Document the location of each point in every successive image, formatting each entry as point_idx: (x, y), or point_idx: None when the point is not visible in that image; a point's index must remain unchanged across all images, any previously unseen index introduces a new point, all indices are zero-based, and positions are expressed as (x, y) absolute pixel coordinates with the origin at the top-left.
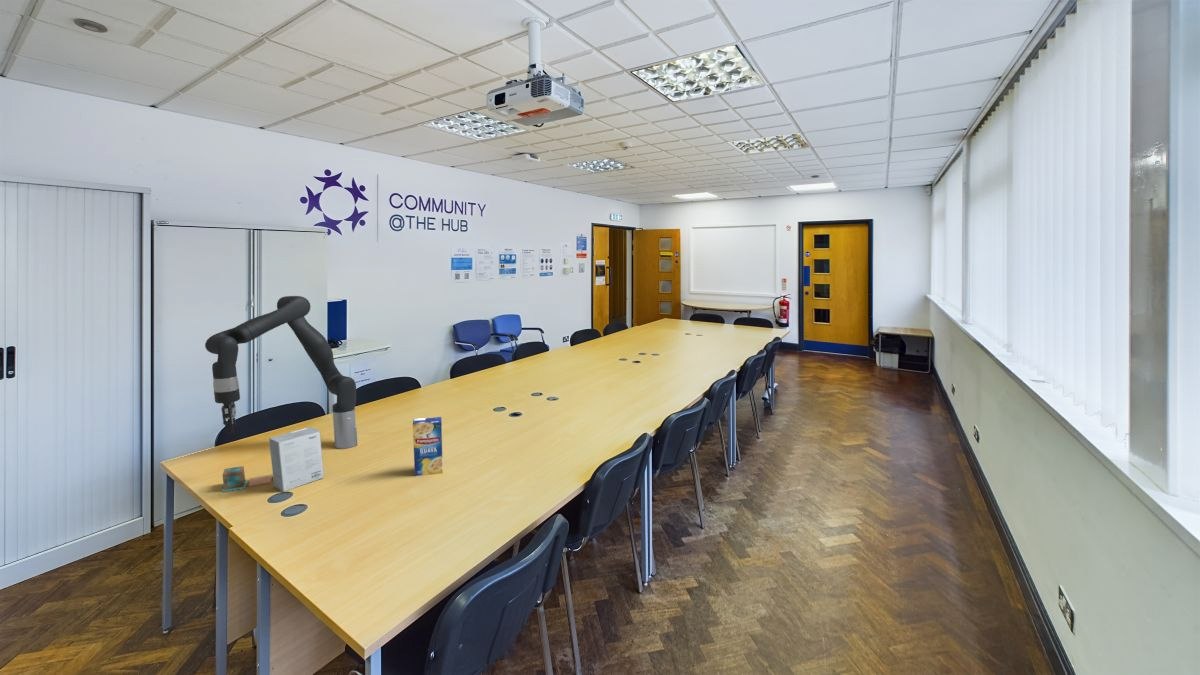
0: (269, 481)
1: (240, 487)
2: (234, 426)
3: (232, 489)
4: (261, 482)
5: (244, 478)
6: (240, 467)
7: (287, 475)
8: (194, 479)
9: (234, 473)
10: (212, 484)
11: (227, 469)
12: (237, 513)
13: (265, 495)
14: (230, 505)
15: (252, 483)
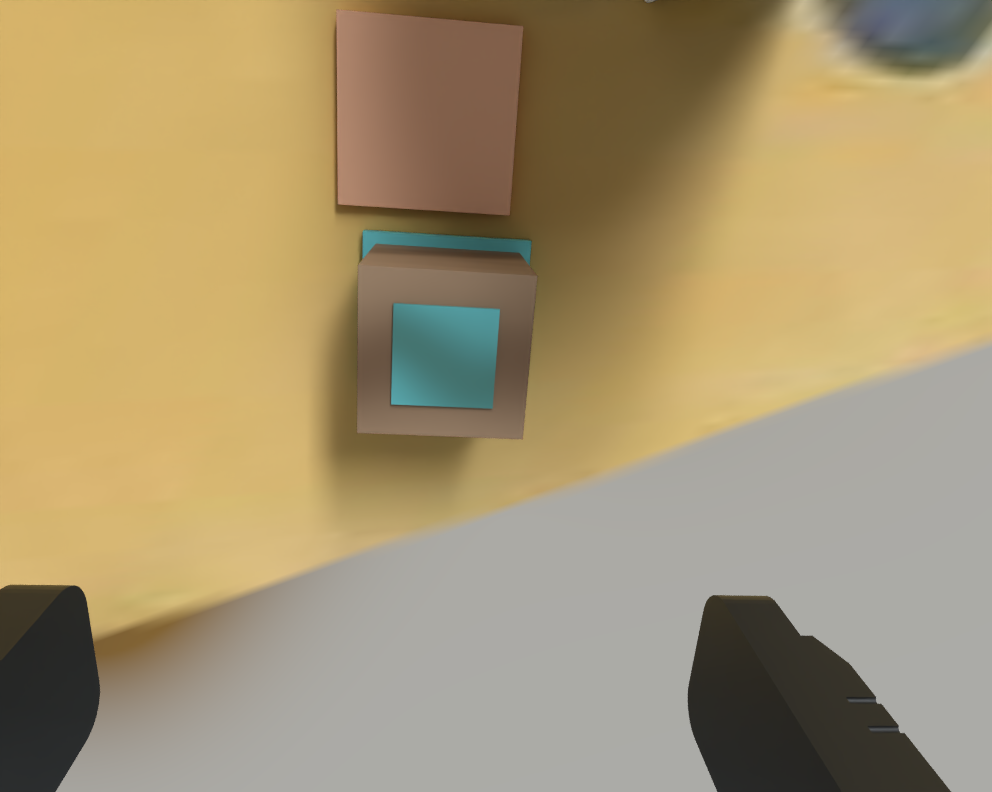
0: (521, 37)
1: None
2: (79, 605)
3: None
4: (508, 109)
5: (412, 250)
6: (394, 295)
7: None
8: (123, 583)
9: (528, 343)
10: (300, 466)
11: (389, 407)
12: (984, 285)
13: (794, 87)
14: (808, 332)
15: (488, 185)
